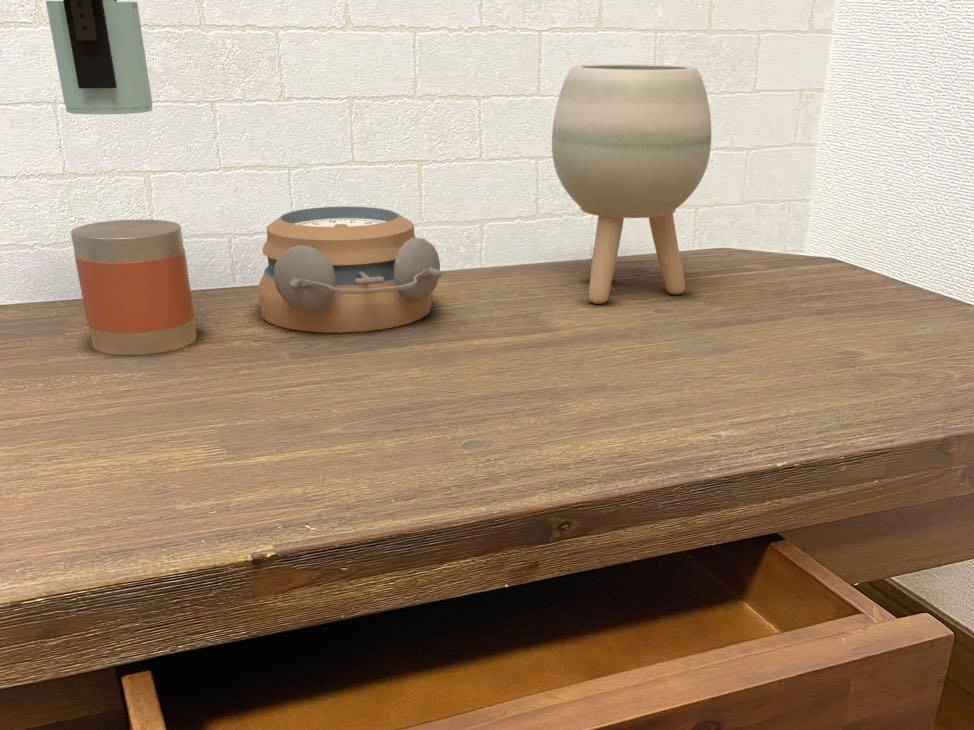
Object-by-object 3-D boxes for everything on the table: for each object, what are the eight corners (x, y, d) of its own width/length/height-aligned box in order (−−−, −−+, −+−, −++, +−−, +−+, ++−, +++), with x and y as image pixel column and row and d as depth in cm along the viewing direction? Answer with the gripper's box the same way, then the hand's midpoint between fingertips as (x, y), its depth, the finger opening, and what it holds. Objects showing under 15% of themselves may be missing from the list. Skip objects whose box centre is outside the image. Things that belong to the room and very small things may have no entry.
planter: (572, 315, 104) (577, 71, 94) (535, 279, 118) (536, 63, 108) (722, 307, 108) (743, 70, 97) (669, 273, 121) (682, 63, 111)
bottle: (53, 114, 82) (24, -38, 78) (83, 107, 88) (58, -34, 84) (138, 114, 83) (114, -37, 78) (162, 107, 89) (141, -33, 84)
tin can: (76, 355, 91) (53, 238, 86) (110, 327, 99) (91, 219, 94) (182, 355, 91) (164, 238, 86) (208, 327, 99) (193, 219, 95)
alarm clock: (401, 198, 111) (471, 237, 92) (405, 284, 115) (473, 339, 96) (237, 207, 105) (277, 251, 86) (248, 297, 109) (288, 359, 90)
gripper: (77, -299, 66) (138, 93, 77) (121, -236, 83) (165, 77, 94) (-50, -307, 65) (29, 93, 75) (20, -241, 82) (77, 78, 92)
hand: (105, 84), depth 85 cm, fingers closed on bottle, 7 cm apart
